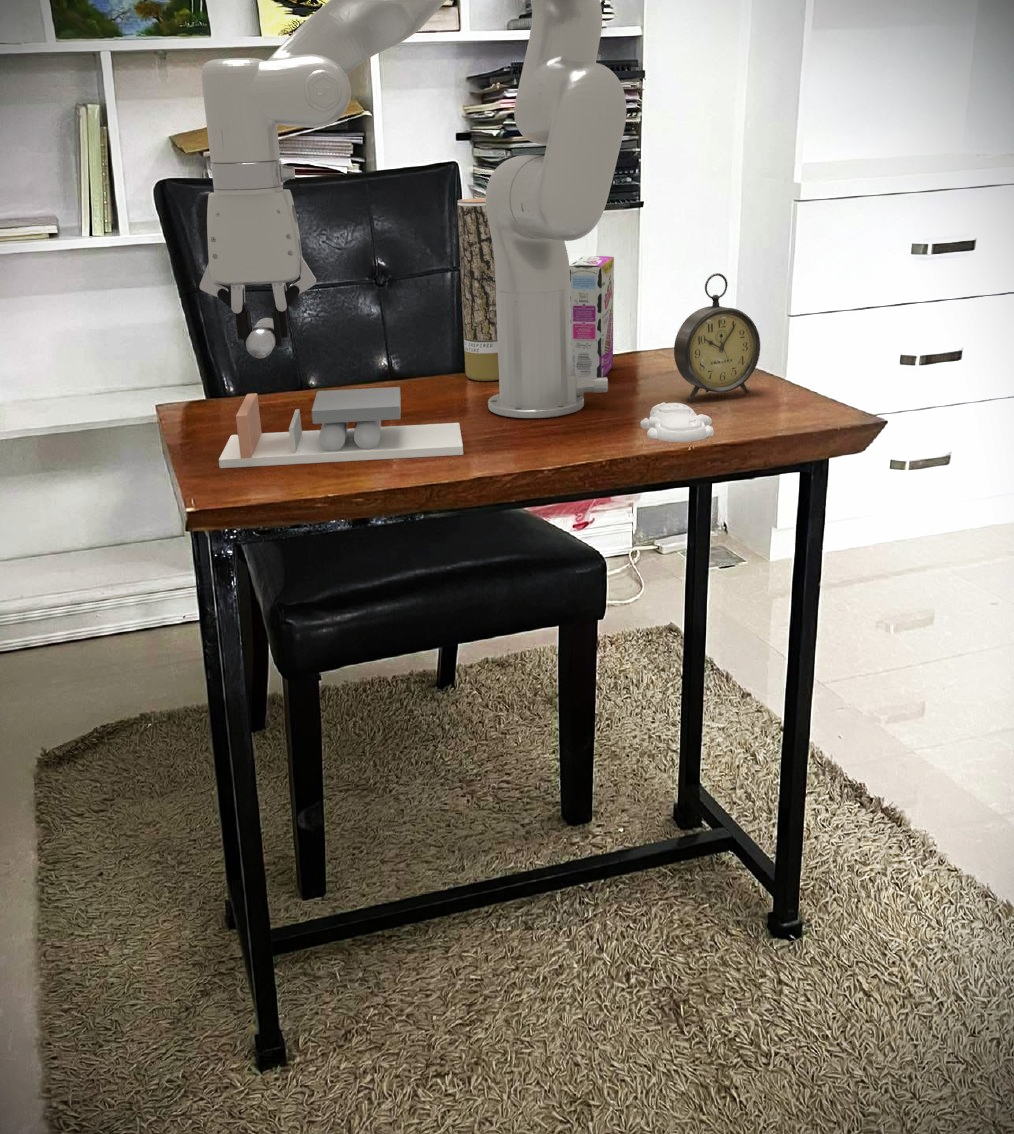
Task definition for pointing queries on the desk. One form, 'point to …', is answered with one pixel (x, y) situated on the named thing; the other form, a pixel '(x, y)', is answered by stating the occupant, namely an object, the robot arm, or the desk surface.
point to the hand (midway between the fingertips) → (264, 343)
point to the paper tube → (478, 291)
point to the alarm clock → (717, 347)
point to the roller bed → (350, 449)
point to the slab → (356, 405)
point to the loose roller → (261, 339)
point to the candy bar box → (592, 315)
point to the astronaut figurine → (677, 423)
